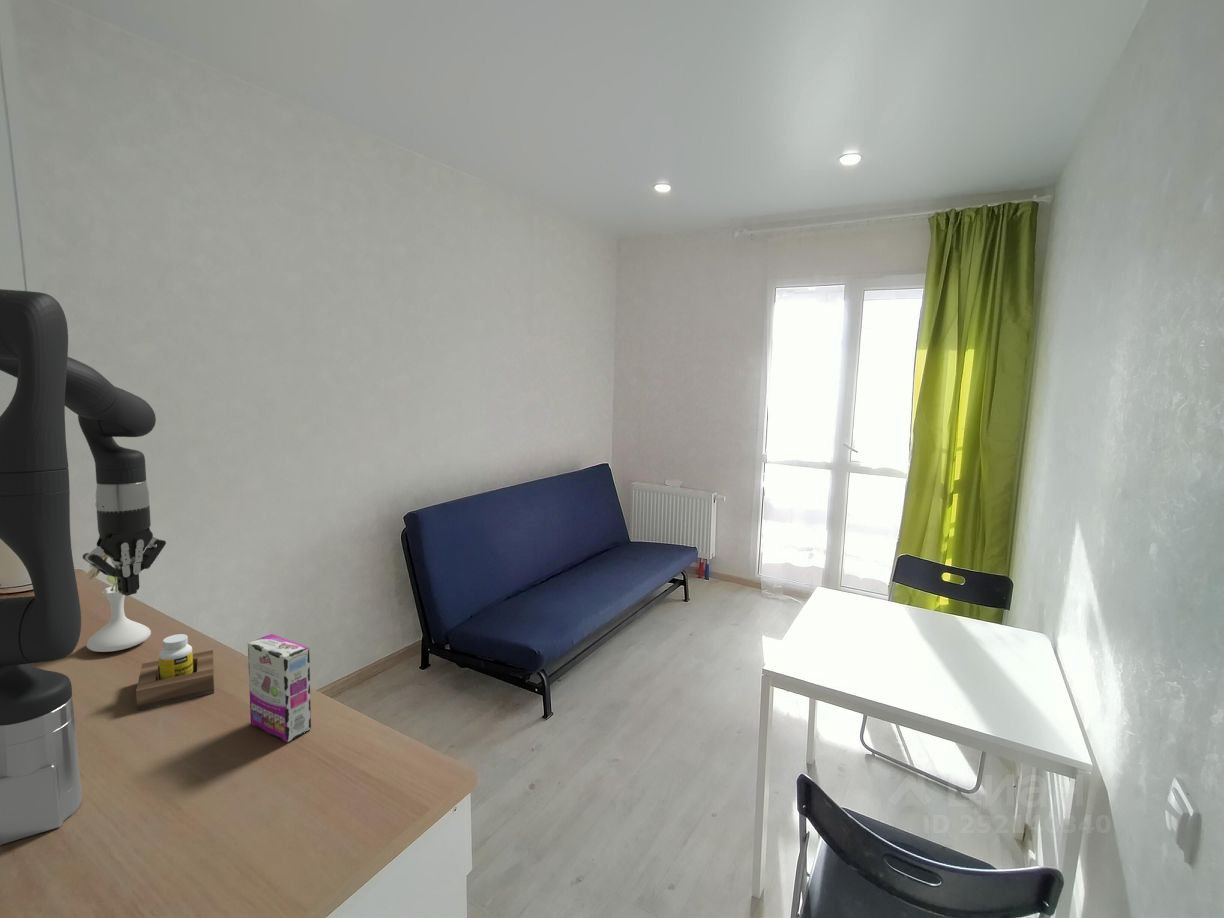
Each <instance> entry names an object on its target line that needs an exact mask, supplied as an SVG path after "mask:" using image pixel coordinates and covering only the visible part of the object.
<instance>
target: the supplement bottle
mask: <svg viewBox="0 0 1224 918" xmlns="http://www.w3.org/2000/svg"><path fill="white" fill-rule="evenodd" d="M188 638H189V637H188V635H187V634H184V633H182V634H181V633H178V634H172V635H169V636H167V637H165V638H163V640H162V647H163V648H162V649H161V651H159V654H158V660H159V666H160V680H162V679H166V678H171V677H176V676H181V675H185V674H190V673H193V654H194V653H193V646H191V645H190V644H189V643H188V642H189V639H188Z"/></svg>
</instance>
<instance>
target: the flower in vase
mask: <svg viewBox="0 0 1224 918" xmlns="http://www.w3.org/2000/svg"><path fill="white" fill-rule="evenodd" d="M103 555H104V556H105V558H104V559H103V560H104V561H106V562H107V563H108V561H109V559H110V557H109V556H107V555H106V554H105V553H104V552H103ZM89 568H90V569H89V570H88V572H87V573H86V575H85V576H86V577H87V581H89V580H90V581H91V580H95V578H96V577H98V576H99V574H100V573H102V572H101V571H99V570H98V569H97V568H95V567H94V566H92V565H91V564H90V563H89ZM106 581H107V582H109V584H112V585H111V586H109V587H105V588H103V589H102V590H101V591H100V592H101V594H103V595H104V596H105V597H106V598H107V600H108V603H109V605H110V620H109V621H108V622H107V623H106V624H105V625H104V626H103V627H101V628H100V629H98V631H96V632H95V633H93V635H91V637H90V638H89V639H88V640H87V642H86V648H87V649H88V650H90V651H92V652H99V653H101V652H102V653H108V652H117V651H121V650H122V651H123V650H126V649H130V648H133V647H135V646H137V645H139V644H142V643H144V642H145V641H147V639H149V638H150V636H151V634H152V631H151V629H150V628H149V627H148V626H146V625H144V624H143V623H140V622H137V621H135V620H131V619H129V618H127V617H126V614H125V605H124V603H125V598H126V595H122V594H121V593H119V591H118V585H117V577H113V576H109V575H107V577H106Z"/></svg>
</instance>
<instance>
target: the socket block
mask: <svg viewBox="0 0 1224 918" xmlns="http://www.w3.org/2000/svg"><path fill="white" fill-rule="evenodd" d="M210 694H211V695H212V694H215V663H214V649H211V650H207V651H206V650H205V651H200V652H196V653H193V673H190V674H185V675H181V676H176V677H171V678H166V679H162V680H160V666H159V659H158V660H155V661H154V660H153V661H149V662H145V663H144V662H143V663H142V665H141V667H140V672H139V676H138V680H137V685H136V689H135V695H136V696H135V697H136V707H137V711H141V710H145V709H146V710H147V709H150V708H156V707H160V706H163V705H168V704H171V703H176V702H180V701H185V700H189V699H193V698H198V697H203V696H208V695H210Z"/></svg>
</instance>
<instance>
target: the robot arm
mask: <svg viewBox="0 0 1224 918" xmlns="http://www.w3.org/2000/svg"><path fill="white" fill-rule="evenodd" d="M68 329H69V328H68V322H67V318H66V315H65V311H64V310H63V307H62V306H61V304H60V302H59V301H58V300H56V298H55V297H53V296H51V295H50V294H48V293H43V292H39V291H31V290H30V291H28V290H17V289H16V290H15V289H3V288H2V289H1V288H0V371H1V372H3V373H5V374H7V375H9V376H13V377H14V378H16V379H17V380H16V388H15V391H14V394H13V396H12V399H11V401H10V402H9V404H8V406H7V407H6V408H5V410H4V411H3V412H2V414H1V415H0V540H1V541H2V542H3V543H4V544H5V545H6V546H7V547H8V548H10V549H11V550H12V552H13V553H14V554H16V556H17V557H18V558H19V559H20V561H21V563H22V564H23V566H24V567H25V568H26V571H27V573H28V575H29V578H30V581H31V586H32V589H33V594H34V595H29V596H16V597H6V598H5V597H3V598H0V846H1V845H5V844H9V843H12V842H15V841H18V840H21V839H25V838H27V837H31V836H35V835H38V834H42V833H44V832H47V831H51V830H55V829H57V828H60V827H61V826H62V825H63V822H64V821H65V820H66V819H68V818H69V817H70V816H72V815H73V814H74V813H75V812H76V811H77V810H78V808H79V807H80V806H81V804H82V800H83V799H82V788H81V787H82V785H81V776H80V765H79V756H78V755H79V753H78V744H77V743H78V742H77V736H76V735H77V733H76V722H75V721H76V720H75V711H74V710H75V708H74V698H73V687H72V686H73V685H72V681H71V679H70V678H69V676H67V675H66V674H64V673H61V672H57V671H53V670H47V669H42V668H39V667H35V666H33V665H32V664H36V663H37V664H38V663H44V662H45V663H47V662H53V661H58V660H59V661H60V660H62V659H64V658H68V657H69V656H70V655H71V654H72V653H73V652H74V651H75V649H76V647H77V645H78V643H79V641H80V636H81V633H82V632H81V631H82V612H81V611H82V610H81V604H80V595H79V590H78V585H77V584H78V583H77V578H76V571H75V565H74V559H73V551H72V537H71V517H70V516H71V515H70V513H71V512H70V511H71V510H70V509H71V505H70V501H71V500H70V497H71V496H70V492H71V491H70V471H69V460H68V449H67V438H66V434H67V433H66V415H65V414H66V413H65V412H66V411H65V410H66V409H65V408H67V409H69V410H70V411H71V412H73V413H74V414H76V415H77V419H78V425H79V427H80V429H81V432H82V434H83V436H84V438H85V440H86V442H87V444H88V447H89V449H90V453H91V455H92V457H93V459H94V460H93V461H94V464H95V466H94V467H95V479H96V480H95V481H96V489H95V507H96V521H97V523H96V524H97V533H98V539H97V542H96V547H95V548H94V549H92V551H90V552H86V553H83V554H82V559H83V560H84V561H85V562H87V563H88V564H89V565H90V564H91V565H92V566H94V567H95V568H97V569H98V570H99V571H101V572H100V573H102V574H103V575H106V576H108V575H109V576H113V577H117V586H118V591H119V593H121V594H122V595H125V597H128V596H131V595H135V594H137V592H138V590H140V573H141V572H142V571H143V570H148V569H150V567H151V566H152V565H153V564H154V561H156V559H157V558H158V556H159V554H160V553H161V552H162V550H163V549H164V547H165V546H166V544H167V542H166V540H163V539H159V538H157V537H155V536H154V534H153V532H152V530H151V522H152V521H151V509H150V507H151V506H150V493H149V492H150V491H149V487H148V483H147V470H146V468H147V467H146V457H145V454H144V453H143V452H142V451H140V450H137V449H131V448H127V447H123V446H121V445H119V444H118V443H117V442H116V440H115V439H114V438H122V437H123V438H139V437H140V438H141V437H144V436H146V435H148V434H149V433H151V432H152V431H153V429H154V428H155V426H156V421H157V417H156V413H155V411H154V409H153V407H152V406H151V405H150V404H149V403H148V401H147V400H144V399H143V398H142V397H140V396H137V395H136V394H134V393H132V392H130V391H127V390H125V389H123V388H119V387H118V386H115V385H114V384H112V383H111V382H110V381H109V379H107V378H106V377H105V376H104V375H103V374H101V373H100V372H99V371H98V370H96V369H94V367H91V366H89V364H88V365H87V364H86V363H84V362H82V361H80V360H78V359H74V357H73V358H72V357H70V356H69V331H68ZM103 552H104V553H105V554H106V555H107V556H109V559H110V560H111V564H112V565H111V564H109V562H108V561H107V562H106V561H104V560H103V559H104V558H105V556H104V555H103ZM30 664H31V665H30Z"/></svg>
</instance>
